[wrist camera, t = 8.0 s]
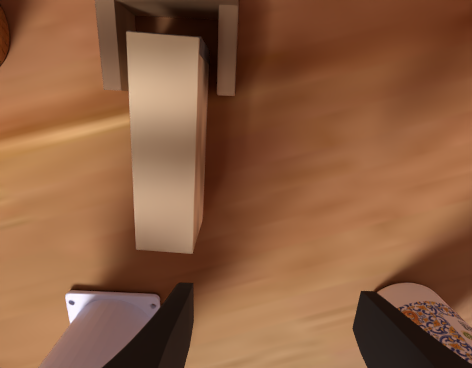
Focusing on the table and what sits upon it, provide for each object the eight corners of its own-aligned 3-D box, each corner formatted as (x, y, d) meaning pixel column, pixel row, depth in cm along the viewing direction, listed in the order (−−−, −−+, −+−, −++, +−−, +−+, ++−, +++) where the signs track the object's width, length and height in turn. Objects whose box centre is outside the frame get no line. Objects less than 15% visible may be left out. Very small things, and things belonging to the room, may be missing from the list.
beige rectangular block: (203, 218, 21) (193, 253, 17) (158, 215, 21) (135, 249, 17) (210, 51, 18) (199, 35, 13) (155, 47, 18) (124, 29, 13)
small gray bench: (234, 95, 18) (232, 95, 11) (124, 90, 18) (51, 87, 11) (239, -8, 16) (239, -87, 9) (116, -14, 16) (23, -98, 9)
